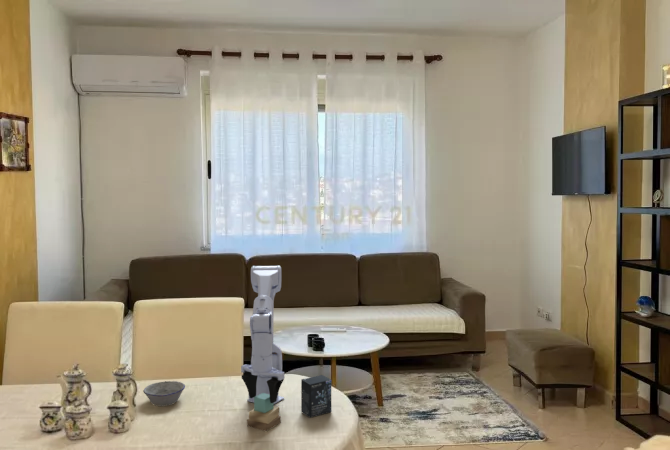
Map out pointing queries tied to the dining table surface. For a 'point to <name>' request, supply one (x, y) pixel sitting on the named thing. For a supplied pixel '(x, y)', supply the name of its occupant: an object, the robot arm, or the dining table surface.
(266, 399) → the teal cube
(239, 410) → the dining table surface
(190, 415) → the dining table surface
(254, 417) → the slab top
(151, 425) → the dining table surface
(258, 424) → the slab bottom
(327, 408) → the box
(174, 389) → the bowl
